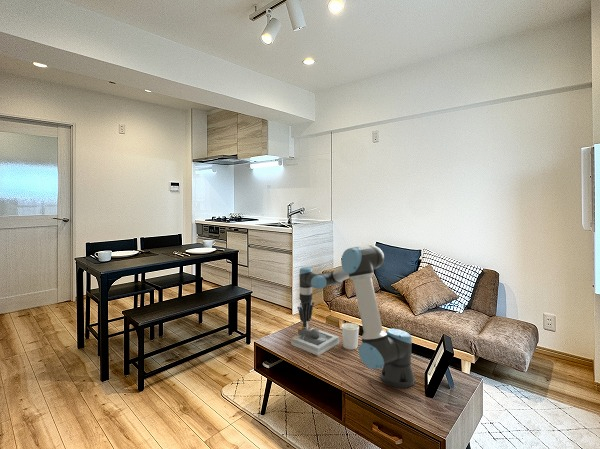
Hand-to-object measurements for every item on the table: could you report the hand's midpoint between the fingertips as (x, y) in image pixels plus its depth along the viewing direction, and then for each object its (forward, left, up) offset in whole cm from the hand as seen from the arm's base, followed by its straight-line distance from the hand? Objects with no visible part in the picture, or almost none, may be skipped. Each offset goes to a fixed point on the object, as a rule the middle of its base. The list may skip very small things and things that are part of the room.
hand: (305, 331), depth 192 cm
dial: (-5, +1, -3) cm, 6 cm away
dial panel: (-8, 0, -5) cm, 9 cm away
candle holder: (-25, -11, -6) cm, 27 cm away
